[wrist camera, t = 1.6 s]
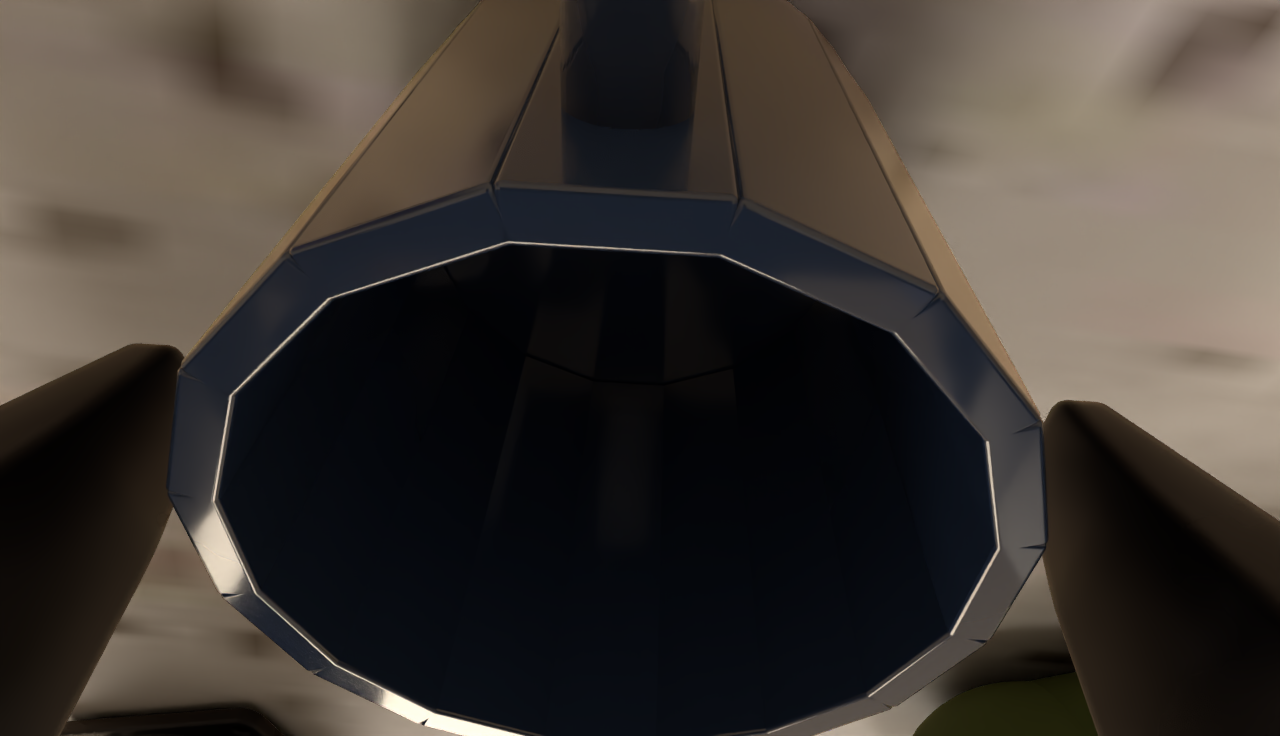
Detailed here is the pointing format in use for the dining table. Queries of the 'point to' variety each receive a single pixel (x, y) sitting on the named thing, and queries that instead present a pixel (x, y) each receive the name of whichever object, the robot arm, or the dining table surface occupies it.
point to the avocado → (1015, 710)
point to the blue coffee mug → (616, 395)
